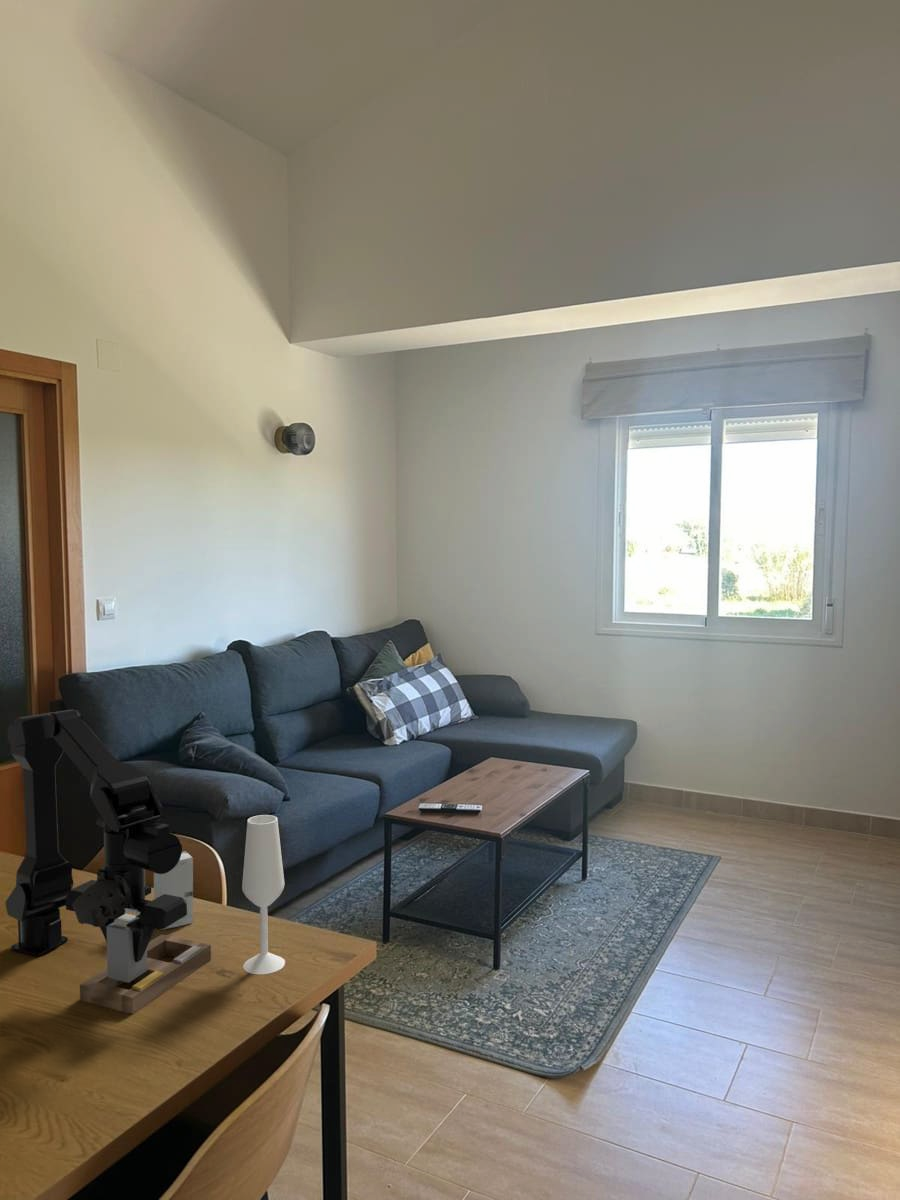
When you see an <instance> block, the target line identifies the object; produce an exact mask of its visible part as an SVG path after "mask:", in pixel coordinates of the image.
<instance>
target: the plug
mask: <svg viewBox="0 0 900 1200" xmlns="http://www.w3.org/2000/svg"><path fill="white" fill-rule="evenodd" d="M134 920H136V915H134V914H130V913H125V914H124V915H122V916H120V917H119V918H117V919H115V920H114V922H113V923H111V924H110V925H108V926H107V942H106V953H107V954H106V957H107V958H106V959H107V960H106V961H107V962H106V963H107V967H106V968H108V978H111V979H115V980H119V981H123V983H127V984H128V983H131V982H133V981H132V980H134V979H135V978H137V977H138V976H140V975H141V974H143V973H145V972H146V971H147V948H146V951H145V953H144V955H143V958H142V959H141V960H140V961H139V962H135V959H134V952H133V933H132V931H131V930H130V929H129V928H128V927H127V926H126V925H127V924H129V923H130V922H132V921H134Z"/></svg>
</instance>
